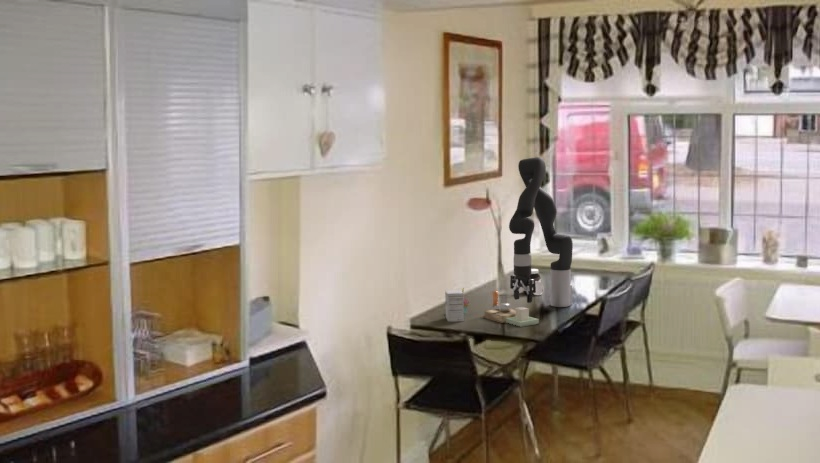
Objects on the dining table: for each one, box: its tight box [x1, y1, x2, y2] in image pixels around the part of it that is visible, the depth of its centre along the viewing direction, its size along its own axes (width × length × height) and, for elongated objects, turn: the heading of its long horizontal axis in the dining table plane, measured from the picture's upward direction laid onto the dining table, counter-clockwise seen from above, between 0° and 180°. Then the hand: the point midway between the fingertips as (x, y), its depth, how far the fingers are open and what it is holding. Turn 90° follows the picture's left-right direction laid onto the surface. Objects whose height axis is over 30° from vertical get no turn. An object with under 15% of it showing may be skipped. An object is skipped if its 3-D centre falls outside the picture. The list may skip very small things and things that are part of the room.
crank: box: [492, 290, 512, 312], centre depth 436 cm, size 13×5×7 cm, turn 22°
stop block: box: [515, 306, 530, 322], centre depth 423 cm, size 4×4×6 cm
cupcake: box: [461, 287, 470, 315], centre depth 444 cm, size 9×8×12 cm
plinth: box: [483, 307, 516, 324], centre depth 433 cm, size 13×13×3 cm
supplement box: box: [444, 289, 465, 323], centre depth 432 cm, size 7×7×13 cm
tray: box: [505, 316, 540, 328], centre depth 423 cm, size 10×10×2 cm
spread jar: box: [521, 268, 545, 296], centre depth 485 cm, size 12×11×12 cm
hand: (523, 300), depth 422 cm, fingers open, 8 cm apart
